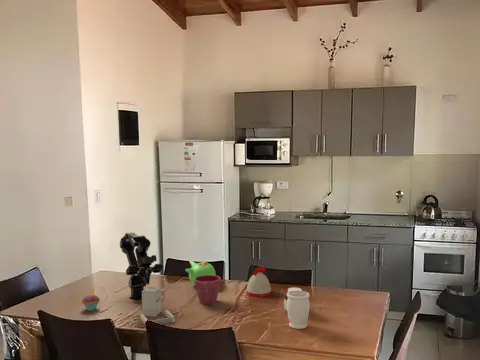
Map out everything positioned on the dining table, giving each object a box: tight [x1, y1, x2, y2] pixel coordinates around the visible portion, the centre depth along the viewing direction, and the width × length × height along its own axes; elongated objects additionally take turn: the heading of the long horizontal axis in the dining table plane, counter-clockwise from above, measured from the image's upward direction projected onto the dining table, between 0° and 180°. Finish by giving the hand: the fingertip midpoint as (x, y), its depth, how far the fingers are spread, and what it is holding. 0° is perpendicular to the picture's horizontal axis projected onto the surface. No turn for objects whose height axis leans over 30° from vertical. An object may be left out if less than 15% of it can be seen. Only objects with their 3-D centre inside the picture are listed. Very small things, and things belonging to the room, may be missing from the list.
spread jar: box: [283, 287, 303, 312], centre depth 233 cm, size 12×11×12 cm
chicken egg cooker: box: [246, 266, 272, 298], centre depth 263 cm, size 14×14×15 cm
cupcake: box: [81, 286, 101, 312], centre depth 238 cm, size 9×8×12 cm
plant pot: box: [193, 275, 222, 305], centre depth 249 cm, size 14×14×13 cm
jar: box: [286, 290, 311, 330], centre depth 213 cm, size 11×10×15 cm
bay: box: [140, 309, 176, 325], centre depth 222 cm, size 11×13×2 cm
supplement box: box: [141, 286, 162, 318], centre depth 230 cm, size 7×7×13 cm
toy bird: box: [185, 260, 217, 285], centre depth 278 cm, size 18×17×15 cm
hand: (148, 284), depth 237 cm, fingers closed
